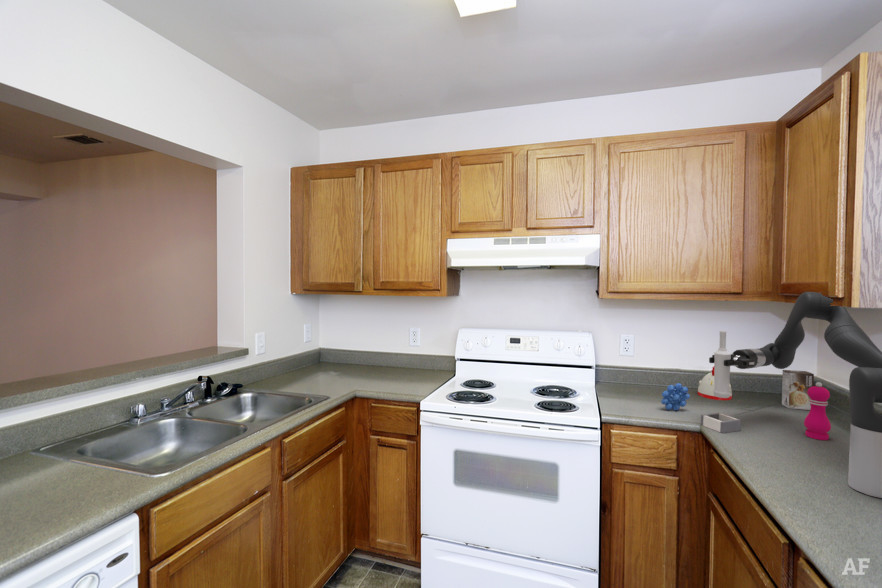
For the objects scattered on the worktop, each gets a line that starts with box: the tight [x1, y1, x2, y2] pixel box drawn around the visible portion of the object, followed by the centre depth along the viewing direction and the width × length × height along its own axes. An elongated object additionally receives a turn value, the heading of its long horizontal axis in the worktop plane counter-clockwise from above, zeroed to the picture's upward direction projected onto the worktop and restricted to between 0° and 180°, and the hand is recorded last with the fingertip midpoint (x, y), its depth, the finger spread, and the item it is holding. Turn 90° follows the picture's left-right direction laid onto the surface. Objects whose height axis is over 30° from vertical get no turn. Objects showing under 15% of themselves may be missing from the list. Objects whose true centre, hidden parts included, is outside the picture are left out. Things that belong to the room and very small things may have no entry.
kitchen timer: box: [697, 366, 733, 401], centre depth 199 cm, size 14×14×15 cm
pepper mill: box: [803, 381, 832, 441], centre depth 147 cm, size 7×7×20 cm
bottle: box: [713, 330, 732, 398], centre depth 156 cm, size 5×5×25 cm
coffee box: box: [781, 369, 815, 411], centre depth 182 cm, size 9×6×16 cm
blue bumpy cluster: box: [660, 382, 691, 411], centre depth 178 cm, size 12×7×12 cm, turn 84°
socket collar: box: [700, 412, 742, 434], centre depth 156 cm, size 9×9×4 cm
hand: (717, 361), depth 155 cm, fingers closed on bottle, 5 cm apart
